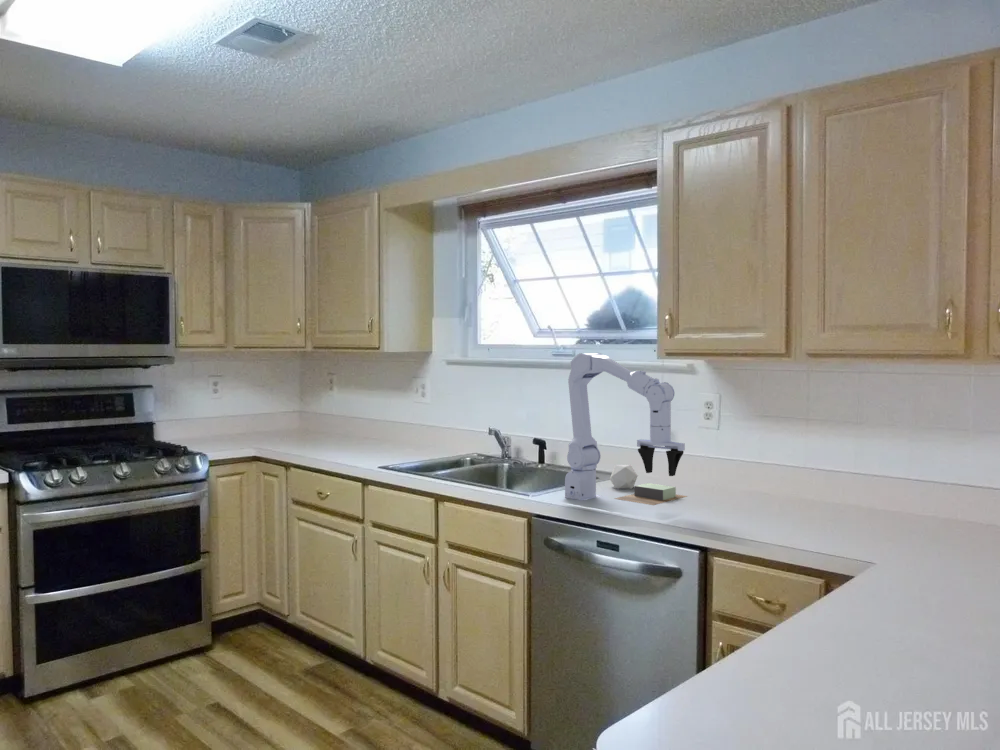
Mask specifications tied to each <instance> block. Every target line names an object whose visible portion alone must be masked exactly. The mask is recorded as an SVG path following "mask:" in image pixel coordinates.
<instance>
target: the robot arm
mask: <svg viewBox="0 0 1000 750" xmlns="http://www.w3.org/2000/svg"><path fill="white" fill-rule="evenodd" d="M603 372H605V373H607V374H608V375H609V374H610V375H612V376H614V377H616V378H618V379H620V380H621V381H624V382H626V384H627V387H628V389H630V390H631V391H634V392H635V393H637V394H639V395H641V396H643V397H644V398H646V401H648V404H649V439H642V438H641V439H637V440H636V447H638V448H637V451H638V452H637V453H639V456H640V457H641V459H642V463H643V466H644V469H645V473H646V474H650V473H653V470H654V469H653V464H654V463H653V459H654V454H655V449H661V450H662V449H663V450H665V453H666V457H667V465H668V476H669V477H674V476H676V472H677V468H678V466H679V464H680V463H679V462H680V459H681V458H682V456H683V454H684V451H685V449H686V448H685V447H686V446H685V443H684V442H676V441H672V440H671V439H672V438H671V437H672V436H671V435H672V434H671V433H672V432H671V430H672V429H671V428H672V410H671V409H672V407H671V406H672V404H671V403H672V402H671V401H673V400H674V397H675V389H674V387H673V386H672V385H671V384H670V382H666V381H665V382H660V379H659V378H657V377H656V378H655V377H652V376H650V375H648V374H647V371H645V370H635V371H632V370H630V369H629V368H627V367H625V366H623V365H622V364H620V363H619V362H617V361H615V360H613V358H611V357H610V356H608V355H605V354H603V353H600V352H595V353H593V352H592V353H590V352H589V353H584V352H579V353H577V354H576V355H575V356H574V358H572V360H571V361H570V373H569V376H568V379H567V380H568V391H569V392H568V393H569V401H570V402H569V403H570V413H571V425H572V434H573V438H572V439H571V440H570V443H569V444H568V452H567V455H566V457H567V458H566V459H567V464H568V465H569V466H570V471H568V472H567V473H566V475H565V477H564V496H563V498H565V499H566V498H567V499H573V500H578V501H586V500H591V499H596V498H600V497H602V495H599V494H597V468H598V466H597V465H598V464H599V463H600V462H601V457H602V456H601V451H600V449H599V447H598V443H597V441H596V439H595V438H594V437H593V436H592V426H591V415H590V405H589V393H588V384H590V382H591V381H592V380H593V379H594V378H595V377H596V376H599V375H600V374H602V373H603Z"/></svg>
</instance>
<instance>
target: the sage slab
mask: <svg viewBox="0 0 1000 750" xmlns="http://www.w3.org/2000/svg"><path fill="white" fill-rule="evenodd" d="M633 489H634V493H633V494H634V496H638V497H645V498H651V499H657V500H666V499H670V498H674V497H676V495H677V494H676V493H677V492H676V491H677V488H676V486H671V485H670V486H669V485H665V484H658V483H657V484H656V483H650V482H649V483H648V482H647V483H642V484H638V485H634V487H633Z"/></svg>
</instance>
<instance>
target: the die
mask: <svg viewBox="0 0 1000 750" xmlns="http://www.w3.org/2000/svg"><path fill="white" fill-rule="evenodd" d="M638 476H639V475H638V474H637V473H636V471H635V469H634V468H633V466H632V465H631V464H614V466H613V470H612V472H611V475H610V478H609V480H610V481H611V484H612V485H613V487H614V489H617V490H618V489H619V490H620V489H622V490H623V489H624V490H629V489H630V490H631V489H634V486H635V484H636V482H637V479H638Z"/></svg>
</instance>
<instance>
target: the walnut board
mask: <svg viewBox="0 0 1000 750" xmlns="http://www.w3.org/2000/svg"><path fill="white" fill-rule="evenodd" d="M686 497H688V495H683V494H682V495H681V494H676V497H674V498H670V499H666V500H657V499H651V498H645V497H638V496H634V493H632V494H627V495H624V496H619V497H614V499H615V500H621V501H626V502H632V503H638V504H644V505H649V506H650V505H651V506H655V505H660V504H663V503H668V502H672V501H675V500H679V499H683V498H686Z"/></svg>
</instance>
